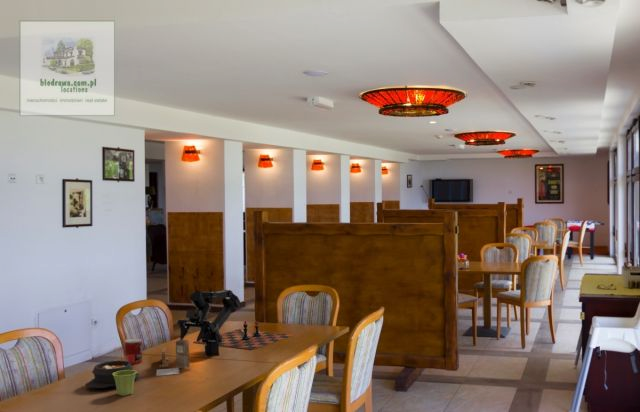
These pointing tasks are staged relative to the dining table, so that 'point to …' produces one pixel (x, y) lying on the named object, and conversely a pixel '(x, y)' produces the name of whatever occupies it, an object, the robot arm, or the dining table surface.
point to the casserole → (108, 373)
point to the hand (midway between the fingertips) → (189, 340)
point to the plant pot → (124, 381)
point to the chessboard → (248, 338)
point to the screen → (164, 359)
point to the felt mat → (167, 371)
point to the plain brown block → (182, 354)
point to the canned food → (133, 350)
